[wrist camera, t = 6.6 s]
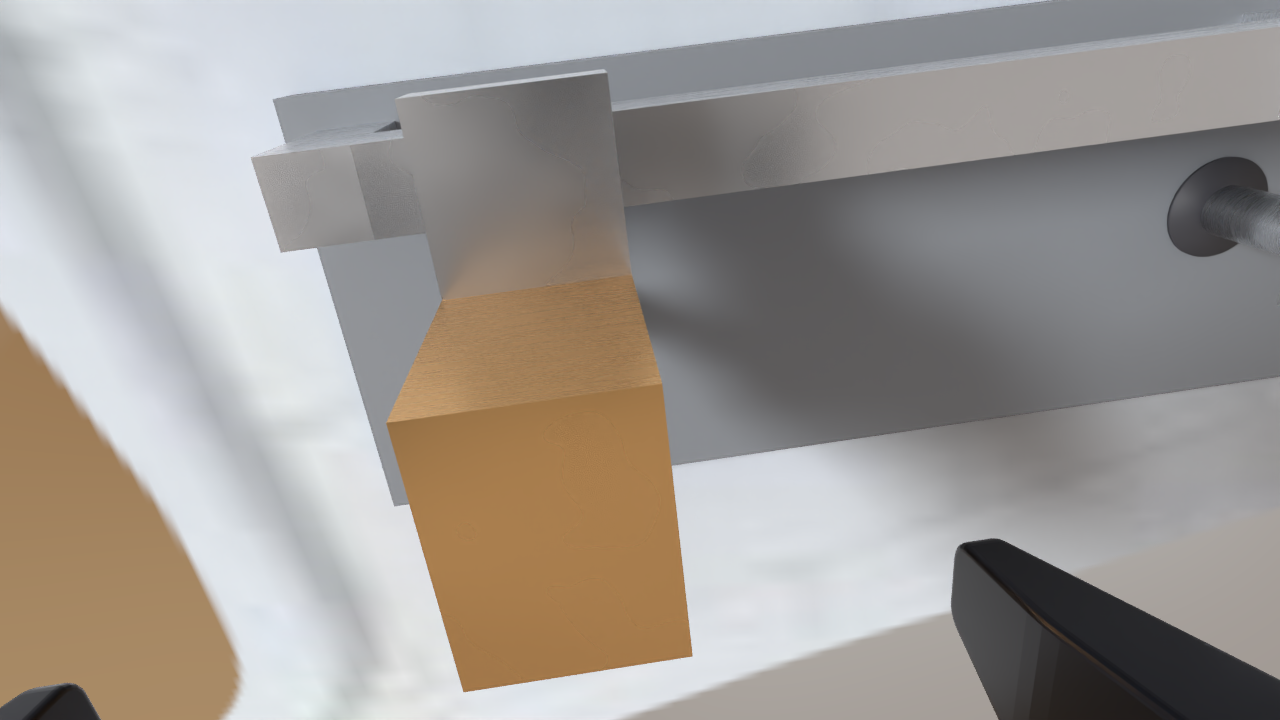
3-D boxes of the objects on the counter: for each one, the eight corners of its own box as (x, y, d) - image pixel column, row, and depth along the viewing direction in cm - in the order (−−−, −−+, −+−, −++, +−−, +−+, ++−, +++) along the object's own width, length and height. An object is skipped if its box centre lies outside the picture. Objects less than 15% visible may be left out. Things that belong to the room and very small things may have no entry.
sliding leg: (594, 60, 15) (630, 94, 7) (634, 374, 18) (692, 656, 10) (444, 79, 15) (303, 135, 7) (509, 392, 18) (463, 692, 10)
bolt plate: (1426, -46, 17) (1489, -52, 16) (1313, 348, 21) (1357, 367, 20) (292, 94, 16) (270, 99, 15) (403, 480, 20) (393, 508, 19)
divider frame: (1330, -32, 16) (1587, -54, 12) (1264, 239, 18) (1460, 297, 14) (307, 94, 15) (214, 118, 11) (382, 362, 18) (328, 459, 14)
